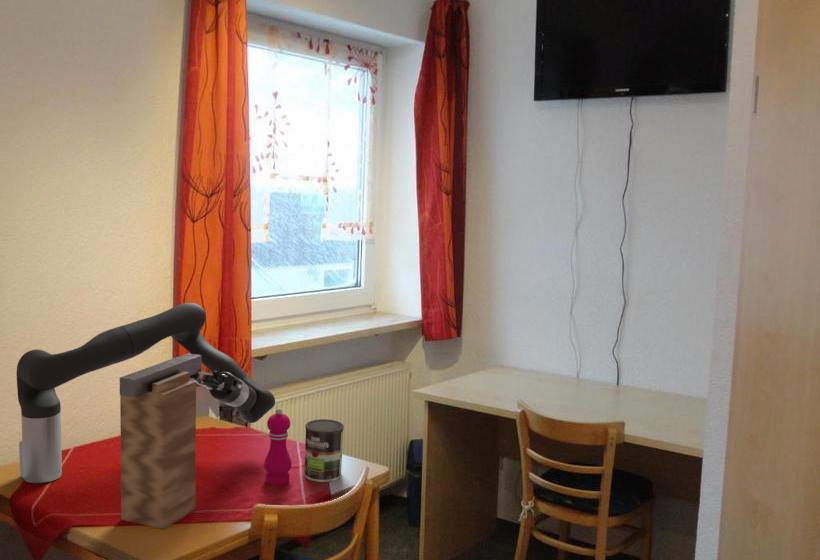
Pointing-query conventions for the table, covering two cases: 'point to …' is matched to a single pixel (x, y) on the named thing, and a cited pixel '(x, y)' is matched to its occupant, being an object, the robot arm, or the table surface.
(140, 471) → the walnut stand
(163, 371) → the lever bar
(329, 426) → the coffee can
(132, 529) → the table surface
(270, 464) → the pepper mill
